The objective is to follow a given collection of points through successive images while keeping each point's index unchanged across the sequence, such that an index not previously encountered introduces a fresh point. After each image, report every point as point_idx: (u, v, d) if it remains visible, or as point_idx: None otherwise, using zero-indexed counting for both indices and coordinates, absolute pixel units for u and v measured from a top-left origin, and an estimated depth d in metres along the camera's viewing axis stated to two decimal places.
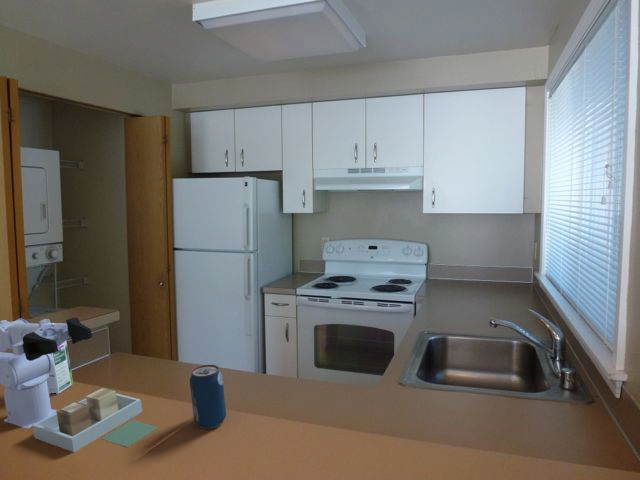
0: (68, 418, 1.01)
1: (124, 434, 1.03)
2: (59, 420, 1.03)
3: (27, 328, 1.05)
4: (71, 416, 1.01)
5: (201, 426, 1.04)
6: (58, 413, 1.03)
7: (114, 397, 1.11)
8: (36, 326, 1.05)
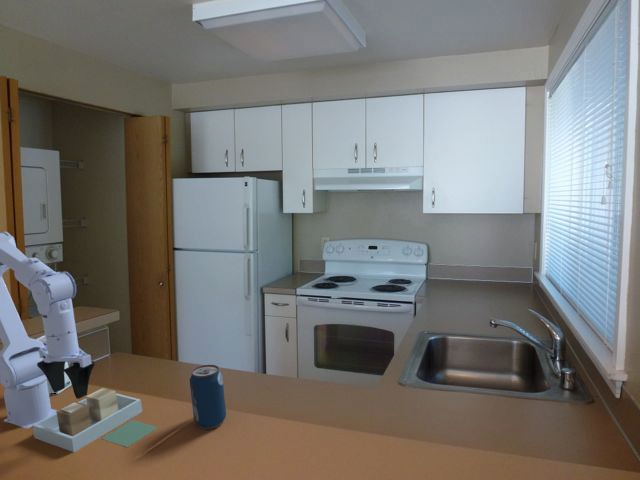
0: (68, 418, 1.01)
1: (124, 434, 1.03)
2: (59, 420, 1.03)
3: None
4: (71, 416, 1.01)
5: (201, 426, 1.04)
6: (58, 413, 1.03)
7: (114, 397, 1.11)
8: (47, 349, 1.00)
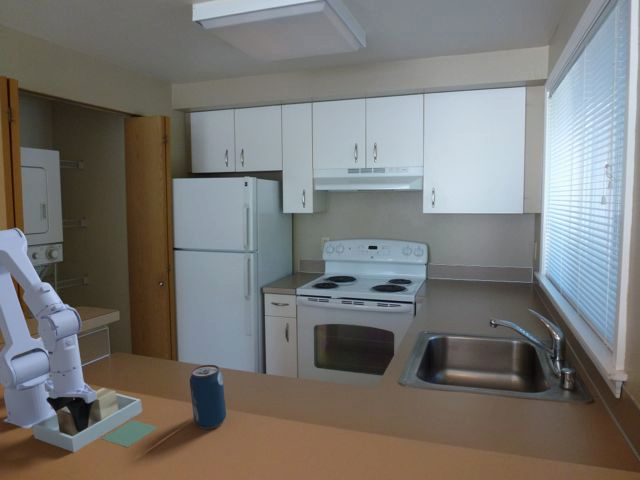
0: (68, 418, 1.01)
1: (124, 434, 1.03)
2: (59, 420, 1.03)
3: (51, 374, 1.01)
4: (71, 416, 1.01)
5: (201, 426, 1.04)
6: (58, 413, 1.03)
7: (114, 397, 1.11)
8: (53, 384, 1.01)
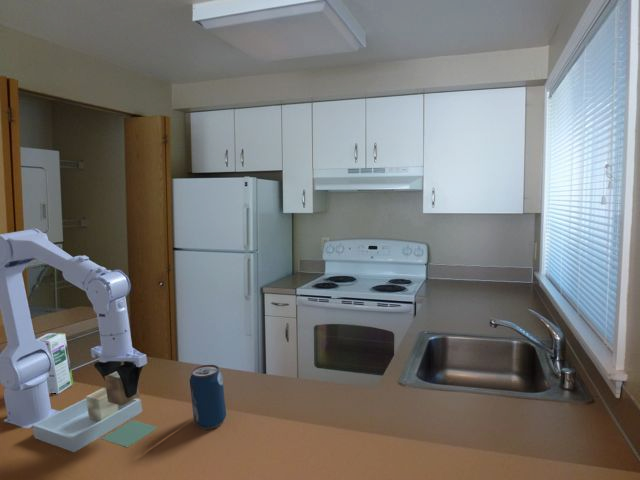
0: (117, 383, 0.99)
1: (124, 434, 1.03)
2: (107, 386, 1.00)
3: (100, 337, 0.98)
4: (120, 381, 0.99)
5: (201, 426, 1.04)
6: (106, 379, 1.00)
7: None
8: (102, 348, 0.98)
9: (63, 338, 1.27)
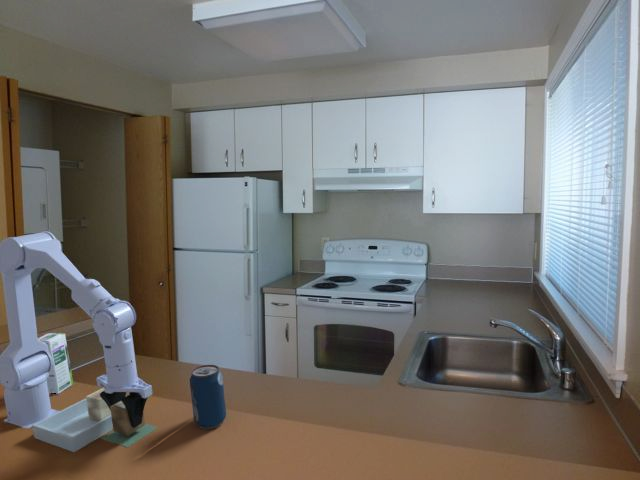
0: (122, 413, 1.00)
1: None
2: (112, 416, 1.01)
3: (106, 368, 0.99)
4: (126, 412, 1.00)
5: (201, 426, 1.04)
6: (112, 408, 1.01)
7: None
8: (108, 379, 0.99)
9: (63, 338, 1.27)
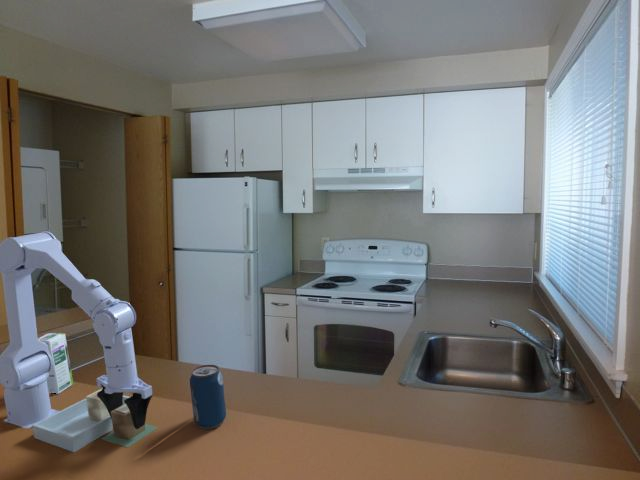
0: (123, 418, 1.00)
1: None
2: (113, 421, 1.02)
3: (106, 369, 0.99)
4: (127, 417, 1.00)
5: (201, 426, 1.04)
6: (113, 414, 1.01)
7: None
8: (108, 379, 0.99)
9: (63, 338, 1.27)
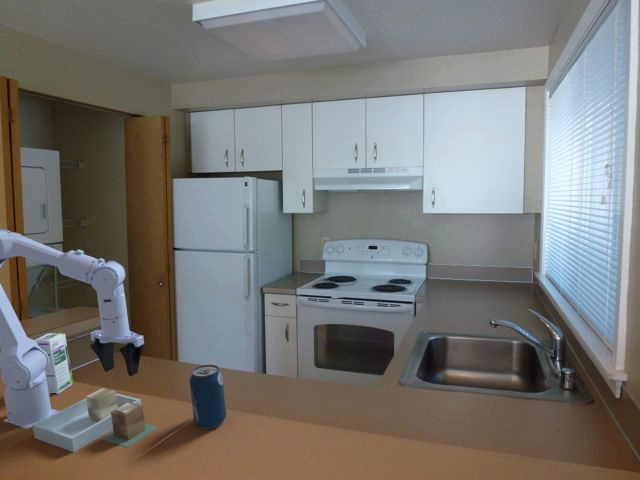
0: (123, 418, 1.00)
1: None
2: (113, 421, 1.02)
3: None
4: (127, 417, 1.00)
5: (201, 426, 1.04)
6: (113, 414, 1.01)
7: (114, 397, 1.11)
8: (103, 331, 1.09)
9: (63, 338, 1.27)
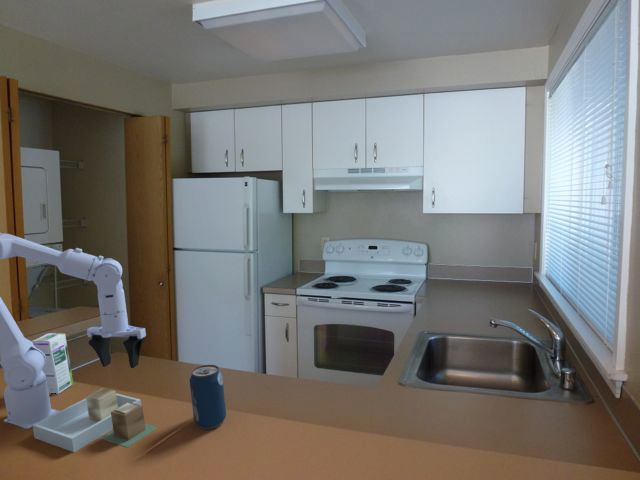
0: (123, 418, 1.00)
1: None
2: (113, 421, 1.02)
3: (101, 317, 1.13)
4: (127, 417, 1.00)
5: (201, 426, 1.04)
6: (113, 414, 1.01)
7: (114, 397, 1.11)
8: (104, 326, 1.13)
9: (63, 338, 1.27)
